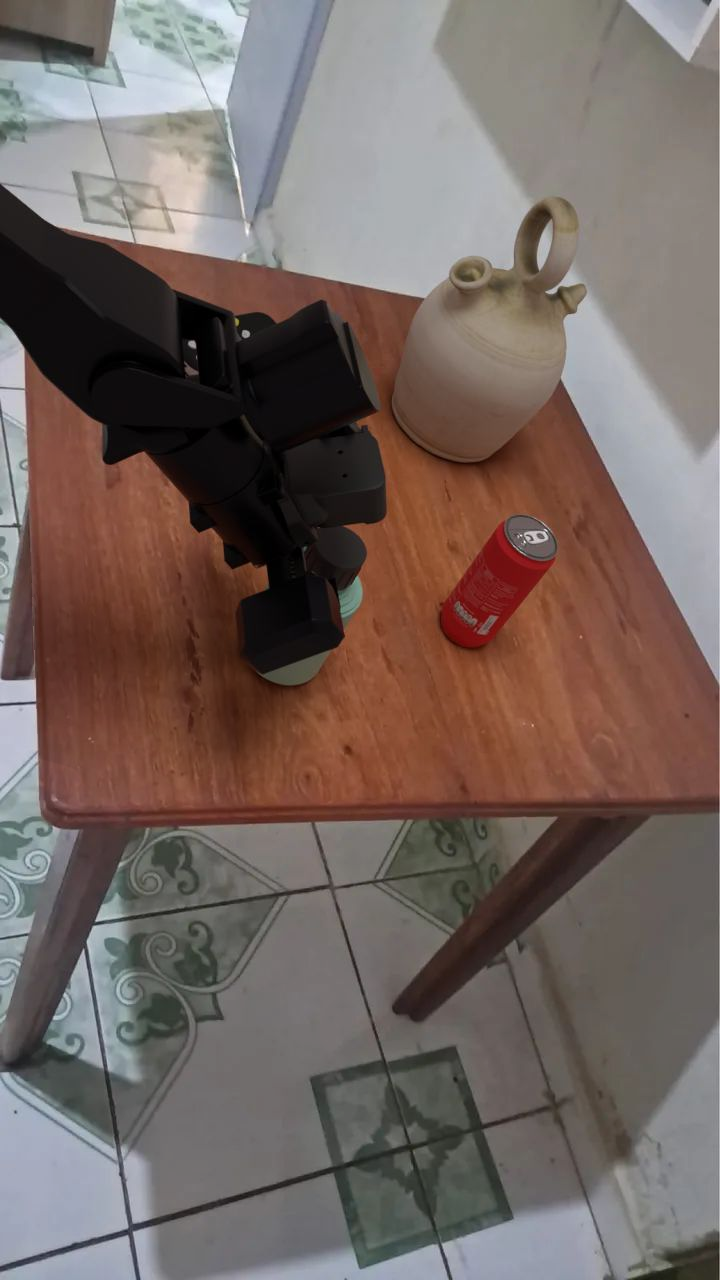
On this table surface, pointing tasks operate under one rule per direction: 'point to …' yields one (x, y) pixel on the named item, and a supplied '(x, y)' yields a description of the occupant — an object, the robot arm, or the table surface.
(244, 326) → the remote control
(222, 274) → the table surface
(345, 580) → the cap
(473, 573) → the beverage can
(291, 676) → the bottle
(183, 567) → the table surface
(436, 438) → the jug
